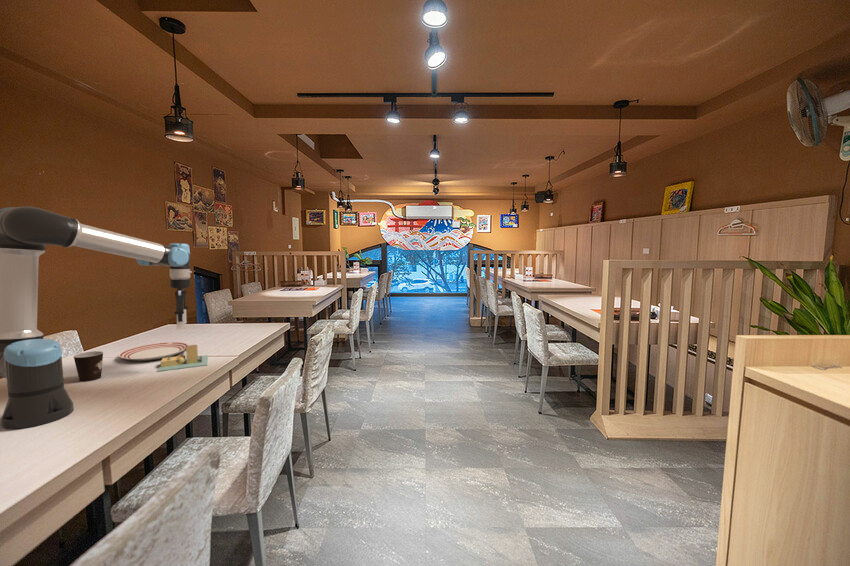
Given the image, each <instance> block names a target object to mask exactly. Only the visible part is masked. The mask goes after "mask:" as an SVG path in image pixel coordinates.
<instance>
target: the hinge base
mask: <svg viewBox="0 0 850 566" xmlns="http://www.w3.org/2000/svg"><path fill="white" fill-rule="evenodd" d="M208 358H209V356H208V355H200V356H198V362H197V363H191V364H187V357H186V355H185V354H182V353H179V355H177V356H176V355H175V356H171V357H167V358H162V359H161V361H160V365H159V368H158V369H157V373H159V372H161V373H162V372H166V371H167V372H168V371H173V370H175V371H176V370H182V369H190V368H197V367H205V366H208V360H209V359H208Z"/></svg>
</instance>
